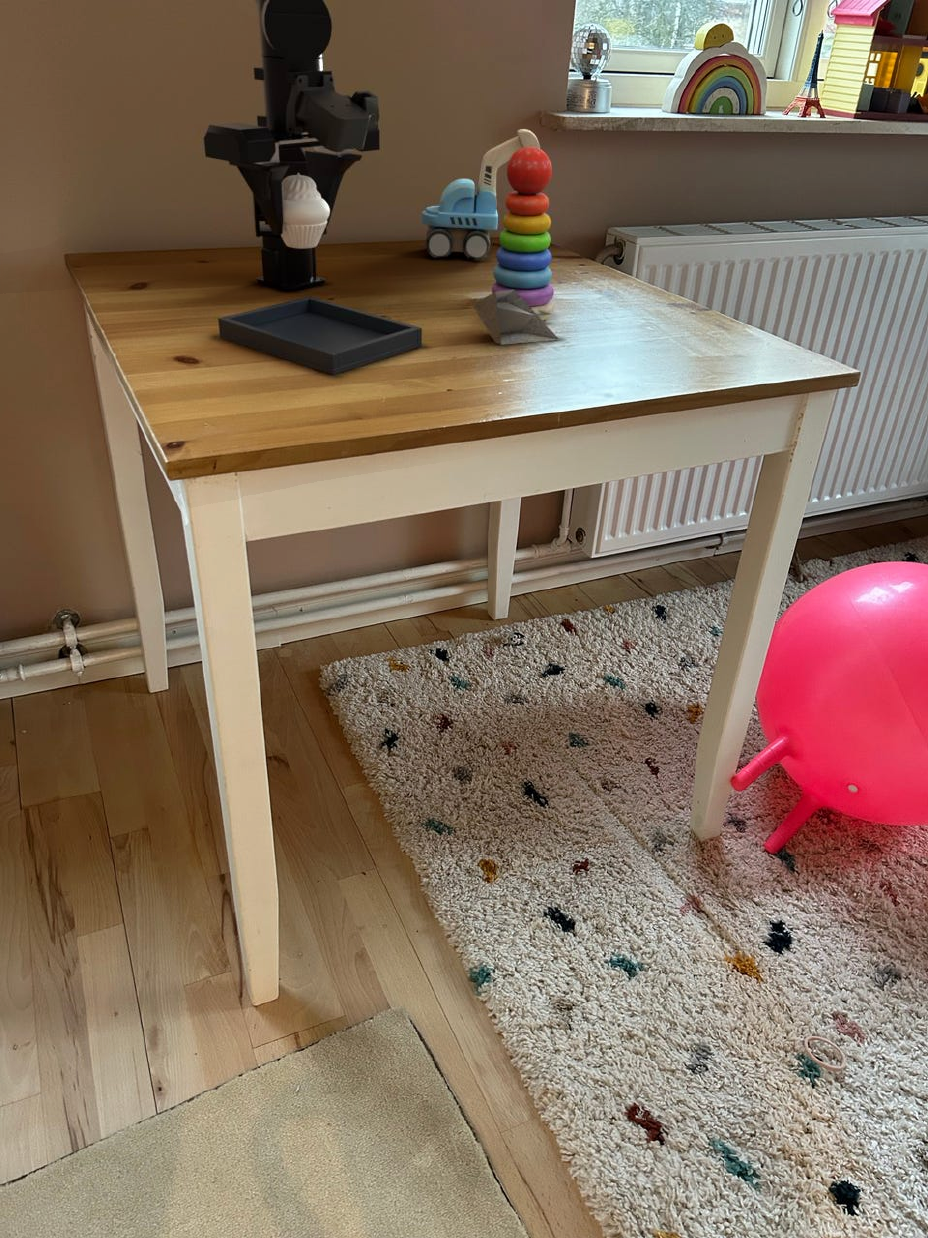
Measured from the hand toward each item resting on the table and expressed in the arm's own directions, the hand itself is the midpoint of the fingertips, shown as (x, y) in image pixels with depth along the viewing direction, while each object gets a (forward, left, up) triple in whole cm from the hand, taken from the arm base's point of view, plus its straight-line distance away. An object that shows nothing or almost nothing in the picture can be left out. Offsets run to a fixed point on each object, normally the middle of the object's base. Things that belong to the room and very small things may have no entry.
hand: (300, 230), depth 99 cm
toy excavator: (-47, -13, -12) cm, 50 cm away
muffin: (0, 0, -2) cm, 2 cm away
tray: (0, +2, -11) cm, 11 cm away
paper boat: (-15, +17, -12) cm, 26 cm away
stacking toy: (-25, +11, -12) cm, 30 cm away
